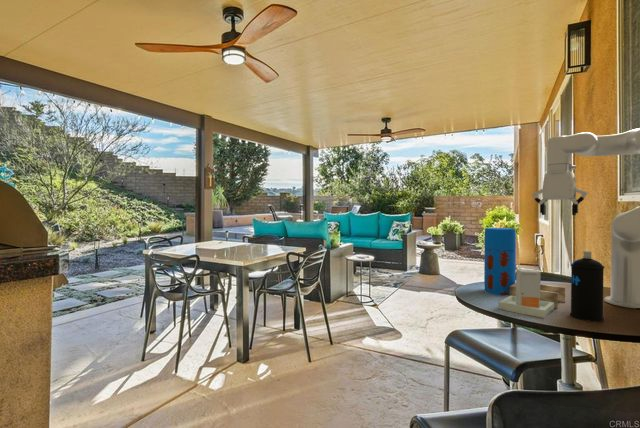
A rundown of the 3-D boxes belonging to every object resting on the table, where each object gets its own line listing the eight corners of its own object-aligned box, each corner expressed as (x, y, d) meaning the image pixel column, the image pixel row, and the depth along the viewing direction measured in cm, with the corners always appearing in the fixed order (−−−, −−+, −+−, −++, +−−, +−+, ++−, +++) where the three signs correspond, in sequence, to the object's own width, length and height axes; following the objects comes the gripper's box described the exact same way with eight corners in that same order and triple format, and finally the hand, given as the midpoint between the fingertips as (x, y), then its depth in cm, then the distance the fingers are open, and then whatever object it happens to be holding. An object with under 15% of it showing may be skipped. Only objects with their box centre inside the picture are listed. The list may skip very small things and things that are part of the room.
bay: (565, 301, 122) (565, 287, 122) (557, 308, 114) (557, 293, 113) (519, 294, 132) (519, 281, 132) (509, 300, 124) (509, 286, 124)
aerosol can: (604, 317, 105) (605, 251, 104) (603, 323, 99) (604, 254, 98) (571, 311, 110) (572, 249, 110) (568, 317, 104) (568, 251, 104)
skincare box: (519, 308, 111) (519, 271, 111) (515, 304, 116) (515, 269, 115) (540, 309, 110) (541, 272, 110) (535, 305, 114) (536, 269, 114)
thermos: (519, 296, 129) (520, 229, 129) (488, 295, 131) (489, 229, 131) (509, 289, 140) (510, 227, 139) (481, 288, 142) (481, 227, 141)
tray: (554, 309, 112) (554, 302, 112) (544, 318, 104) (544, 310, 104) (510, 301, 122) (510, 295, 122) (498, 309, 113) (498, 302, 113)
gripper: (589, 168, 127) (588, 215, 127) (535, 172, 139) (534, 214, 139) (585, 167, 121) (585, 215, 122) (530, 170, 134) (529, 215, 134)
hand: (558, 215), depth 130 cm, fingers open, 9 cm apart
